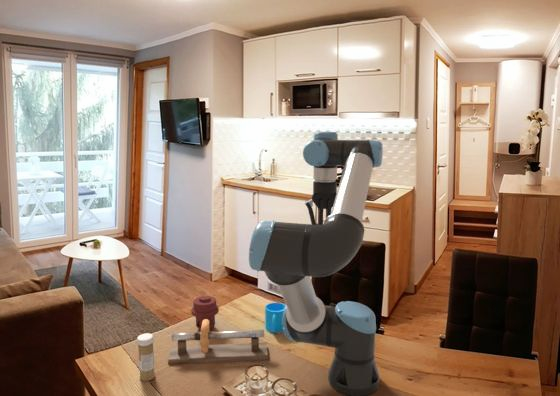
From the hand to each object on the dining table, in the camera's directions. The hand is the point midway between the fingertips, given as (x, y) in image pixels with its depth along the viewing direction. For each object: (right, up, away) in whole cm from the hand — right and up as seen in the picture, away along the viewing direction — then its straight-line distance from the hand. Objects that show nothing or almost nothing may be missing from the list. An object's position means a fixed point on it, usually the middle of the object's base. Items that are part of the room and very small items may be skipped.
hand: (323, 251), depth 143 cm
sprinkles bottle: (-55, -37, -11) cm, 67 cm away
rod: (-35, -29, 0) cm, 45 cm away
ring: (-39, -32, 0) cm, 50 cm away
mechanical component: (-42, -32, +19) cm, 56 cm away
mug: (-16, -32, +19) cm, 40 cm away
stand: (-35, -35, +1) cm, 49 cm away
